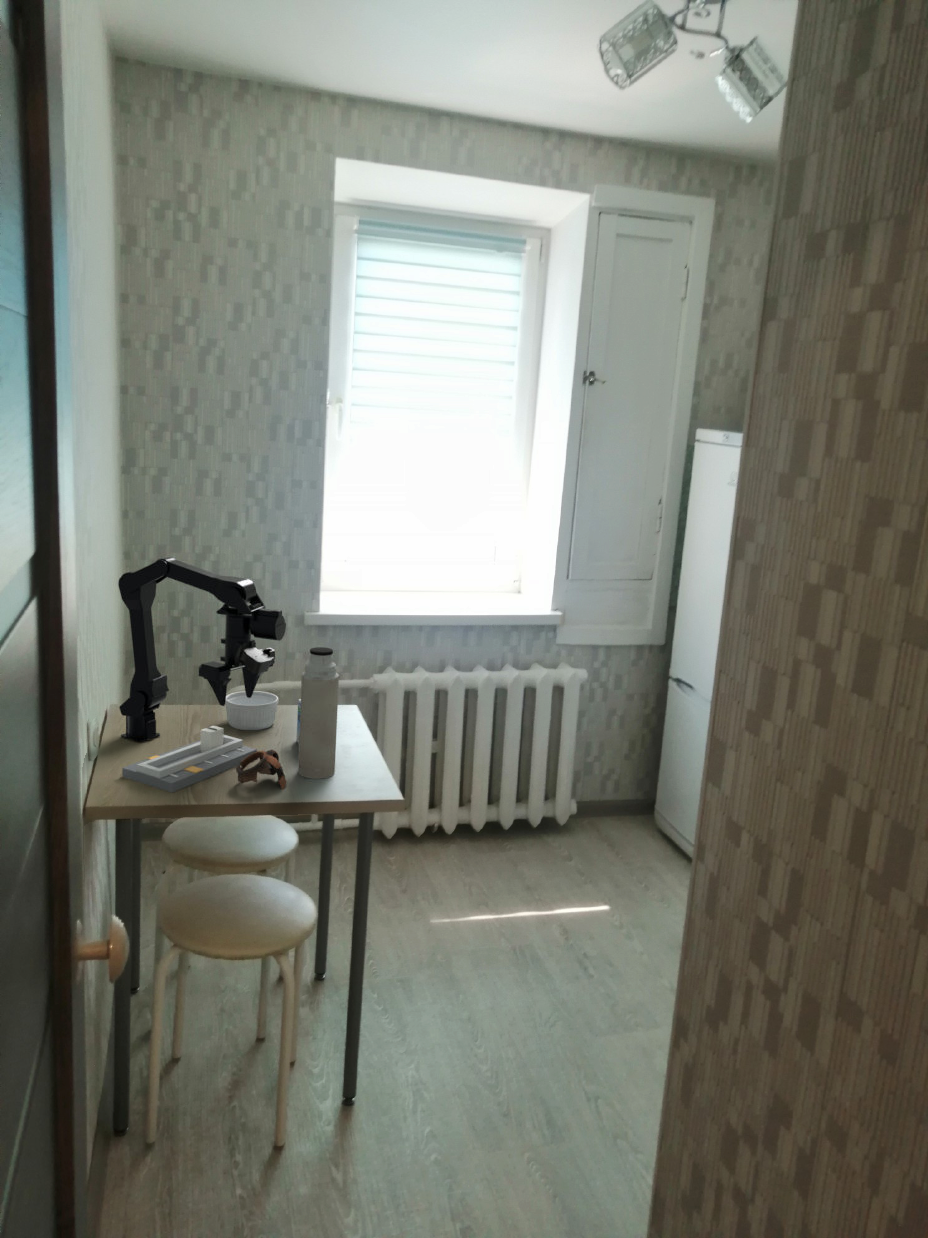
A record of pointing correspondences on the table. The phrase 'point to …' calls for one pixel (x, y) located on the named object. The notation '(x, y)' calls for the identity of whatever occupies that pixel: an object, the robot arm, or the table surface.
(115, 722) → the table surface
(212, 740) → the fader knob
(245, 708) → the ramekin
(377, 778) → the table surface
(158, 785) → the console
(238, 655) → the robot arm
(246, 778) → the brown curved looped piece
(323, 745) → the thermos bottle
